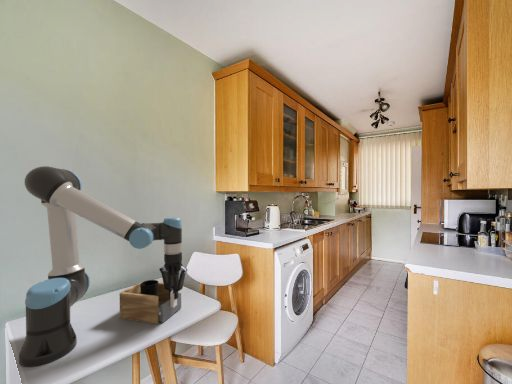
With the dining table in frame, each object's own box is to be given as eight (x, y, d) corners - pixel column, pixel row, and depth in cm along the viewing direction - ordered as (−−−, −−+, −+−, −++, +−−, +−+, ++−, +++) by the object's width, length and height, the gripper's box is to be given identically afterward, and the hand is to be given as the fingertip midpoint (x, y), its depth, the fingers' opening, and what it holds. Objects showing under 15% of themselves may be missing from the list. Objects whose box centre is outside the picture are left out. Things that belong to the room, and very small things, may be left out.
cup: (151, 314, 106) (151, 286, 106) (136, 312, 107) (136, 285, 108) (162, 305, 113) (161, 280, 114) (147, 304, 115) (147, 279, 115)
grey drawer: (162, 322, 101) (162, 305, 101) (127, 317, 106) (127, 301, 106) (181, 307, 114) (181, 292, 114) (149, 303, 119) (148, 289, 119)
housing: (156, 323, 101) (156, 297, 101) (119, 318, 106) (119, 293, 106) (178, 307, 115) (177, 284, 115) (144, 303, 120) (144, 280, 120)
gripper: (190, 251, 109) (191, 303, 109) (165, 249, 113) (166, 300, 112) (181, 255, 102) (181, 311, 102) (154, 253, 105) (155, 308, 105)
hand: (173, 305), depth 107 cm, fingers closed
